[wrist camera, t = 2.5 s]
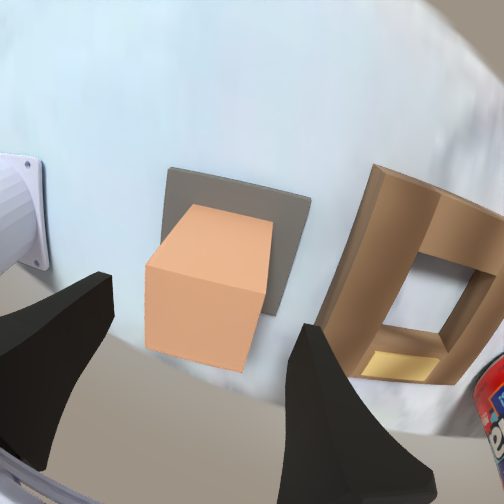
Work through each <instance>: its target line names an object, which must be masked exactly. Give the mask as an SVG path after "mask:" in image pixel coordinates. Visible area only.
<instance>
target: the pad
mask: <svg viewBox="0 0 504 504" xmlns="http://www.w3.org/2000/svg"><path fill="white" fill-rule="evenodd" d="M193 204H195V205H200V206H205V207H209V208H214V209H218V210H223V211H227V212H231V213H236V214H240V215H245V216H249V217H253V218H258V219H262V220H266V221H270V222H273V229H272V239H271V249H270V258H269V268H268V278H267V287H266V295H265V298H264V302H263V305H262V309H261V312H262V313H266V314H271V315H275V316H276V313H277V310H278V307H279V304H280V301H281V298H282V295H283V292H284V289H285V286H286V283H287V279H288V276H289V273H290V270H291V267H292V264H293V260H294V257H295V254H296V251H297V248H298V244H299V241H300V238H301V235H302V231H303V228H304V225H305V221H306V218H307V215H308V211H309V208H310V205H311V198H309V197H306V196H302V195H298V194H294V193H290V192H286V191H281V190H277V189H273V188H269V187H265V186H260V185H256V184H252V183H247V182H243V181H238V180H234V179H229V178H224V177H220V176H215V175H210V174H205V173H200V172H195V171H190V170H185V169H179V168H174V167H171V168H169V169H168V173H167V181H166V190H165V199H164V209H163V219H162V231H161V243H160V245H161V244H162V242H163V241H164V240H165V239H166V237H167V236H168V235H169V233H170V232H171V231H172V230H173V228H174V227H175V226H176V225H177V223H178V222H179V221H180V219H181V218H182V217H183V216H184V215H185V213H186V212H187V211H188V210H189V208H190V207H191V206H192V205H193Z"/></svg>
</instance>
